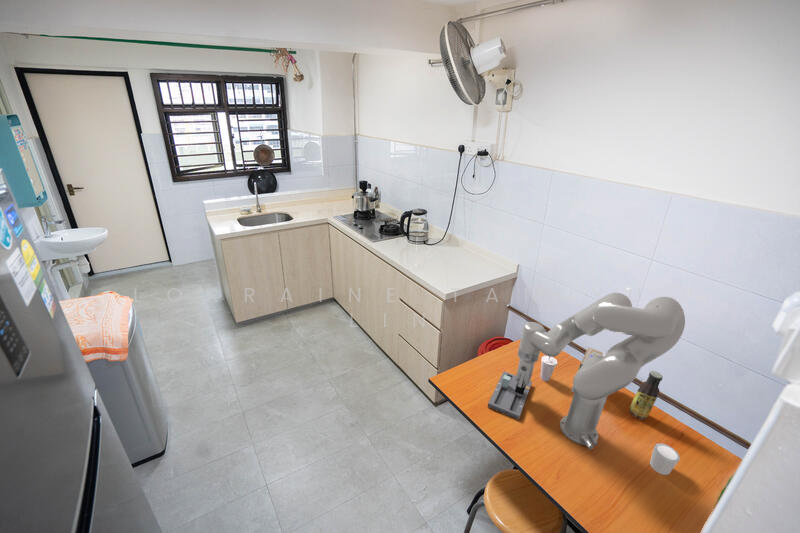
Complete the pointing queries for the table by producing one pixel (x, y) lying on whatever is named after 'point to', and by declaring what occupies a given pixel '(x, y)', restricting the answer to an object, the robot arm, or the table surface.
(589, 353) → the pale thin bent piece
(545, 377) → the smoothie
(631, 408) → the sauce bottle
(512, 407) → the console
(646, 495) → the table surface
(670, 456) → the white short cylinder
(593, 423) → the robot arm
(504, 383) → the fader teal
